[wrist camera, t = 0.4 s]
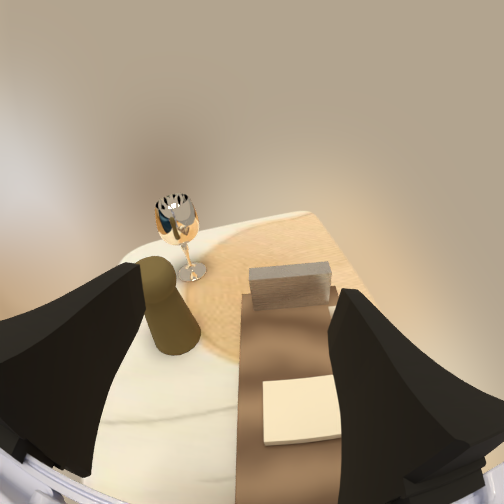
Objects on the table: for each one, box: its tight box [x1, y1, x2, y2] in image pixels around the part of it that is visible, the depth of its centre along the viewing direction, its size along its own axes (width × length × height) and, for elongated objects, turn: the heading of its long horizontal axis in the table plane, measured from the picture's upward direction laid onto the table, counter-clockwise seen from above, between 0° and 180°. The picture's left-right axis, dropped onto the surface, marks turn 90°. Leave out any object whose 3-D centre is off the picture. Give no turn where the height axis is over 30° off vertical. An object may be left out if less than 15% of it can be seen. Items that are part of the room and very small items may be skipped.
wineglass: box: [155, 193, 206, 282], centre depth 38 cm, size 6×6×12 cm
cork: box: [135, 256, 201, 355], centre depth 29 cm, size 6×6×11 cm
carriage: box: [263, 375, 341, 446], centre depth 21 cm, size 6×9×2 cm, turn 90°
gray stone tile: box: [249, 261, 332, 311], centre depth 32 cm, size 2×9×5 cm, turn 90°
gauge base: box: [235, 286, 341, 504], centre depth 25 cm, size 26×12×1 cm, turn 0°
